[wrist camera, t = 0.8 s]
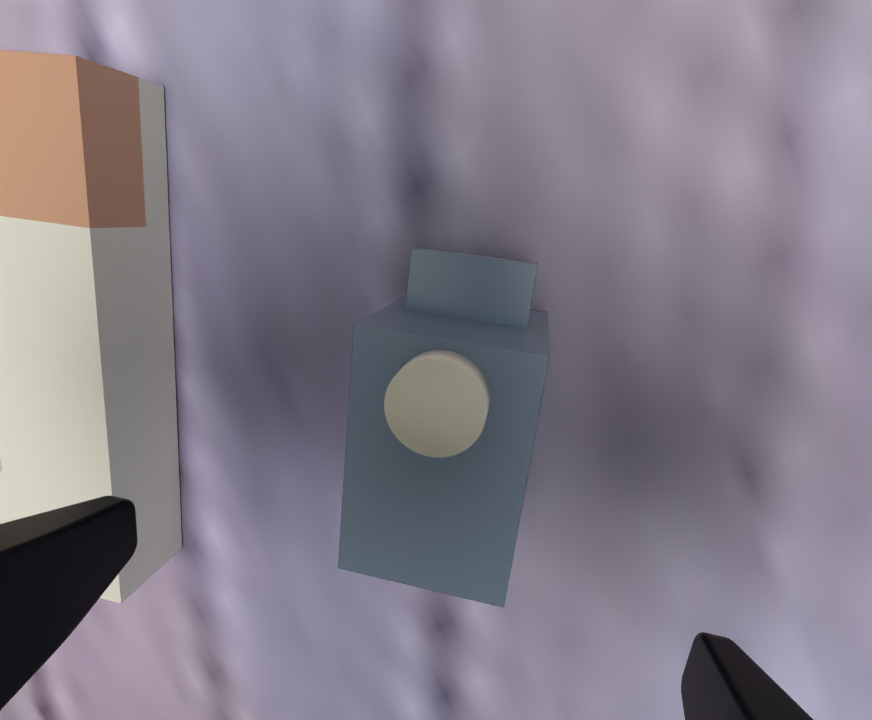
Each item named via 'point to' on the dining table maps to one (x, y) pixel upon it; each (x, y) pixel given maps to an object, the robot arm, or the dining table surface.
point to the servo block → (444, 426)
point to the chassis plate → (87, 300)
